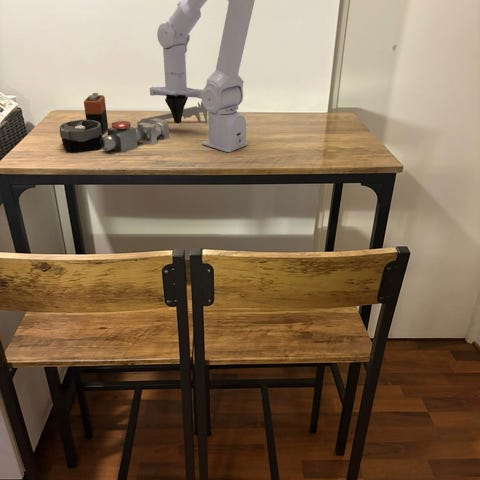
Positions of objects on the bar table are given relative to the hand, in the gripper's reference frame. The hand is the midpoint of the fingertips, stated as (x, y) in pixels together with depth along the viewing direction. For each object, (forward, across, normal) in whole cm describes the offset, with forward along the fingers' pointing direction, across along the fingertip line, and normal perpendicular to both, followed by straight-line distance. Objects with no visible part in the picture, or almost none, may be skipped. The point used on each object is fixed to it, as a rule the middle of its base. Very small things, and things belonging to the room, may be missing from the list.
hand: (177, 122), depth 136 cm
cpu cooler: (+3, -20, -18) cm, 27 cm away
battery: (+2, -21, -6) cm, 22 cm away
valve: (+2, -9, -17) cm, 20 cm away
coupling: (+2, -4, -9) cm, 10 cm away
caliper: (+3, -4, +7) cm, 9 cm away
